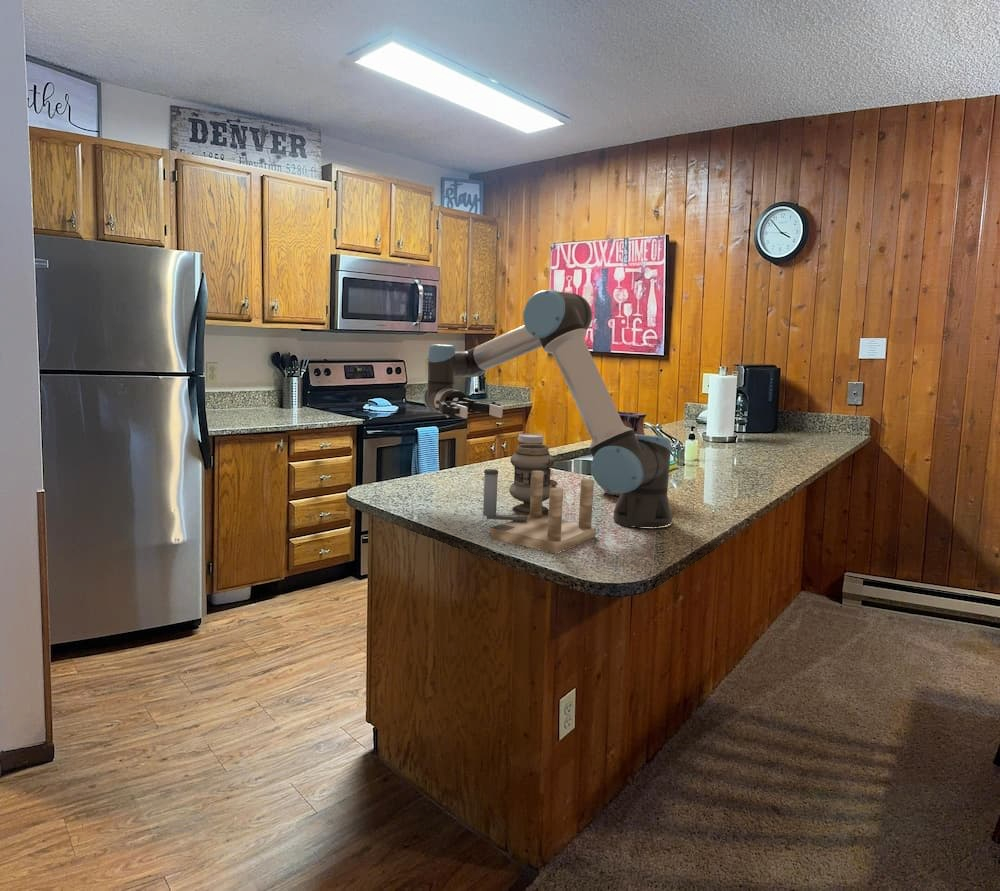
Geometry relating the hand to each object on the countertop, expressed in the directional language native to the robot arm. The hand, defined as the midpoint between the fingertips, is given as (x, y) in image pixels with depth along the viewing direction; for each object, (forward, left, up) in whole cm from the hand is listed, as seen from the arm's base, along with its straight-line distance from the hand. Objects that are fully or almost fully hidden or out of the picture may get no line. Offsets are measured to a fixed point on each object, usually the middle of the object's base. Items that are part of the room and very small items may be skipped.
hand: (483, 412), depth 175 cm
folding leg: (-8, +4, -25) cm, 27 cm away
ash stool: (-18, +6, -28) cm, 34 cm away
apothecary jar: (-9, -18, -28) cm, 34 cm away
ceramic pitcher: (-29, -52, -28) cm, 66 cm away
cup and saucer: (-4, -48, -28) cm, 56 cm away
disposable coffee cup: (+6, -79, -28) cm, 84 cm away
